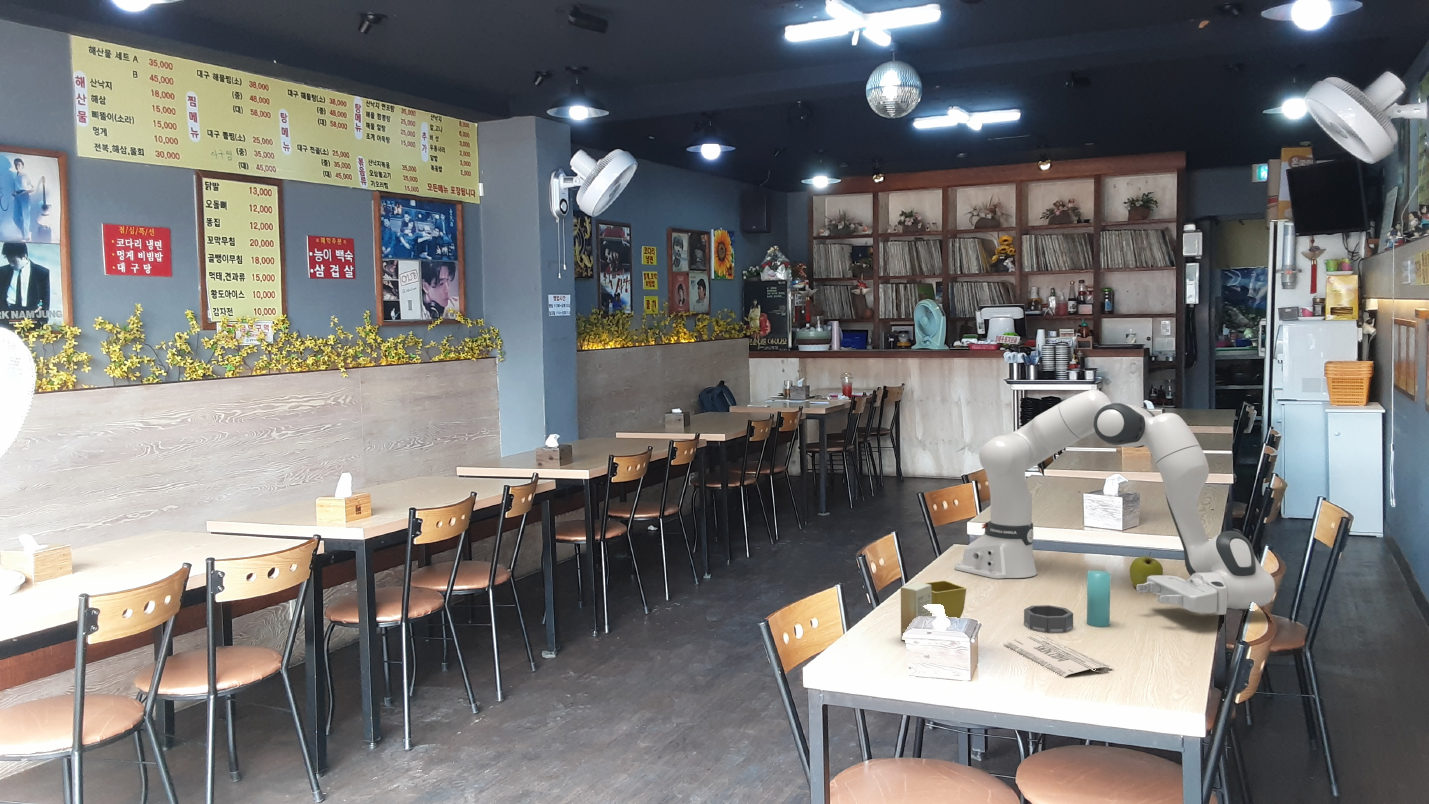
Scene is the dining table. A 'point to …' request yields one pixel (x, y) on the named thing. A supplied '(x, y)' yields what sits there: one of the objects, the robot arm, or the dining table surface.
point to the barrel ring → (1048, 618)
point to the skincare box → (914, 602)
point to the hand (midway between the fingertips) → (1148, 593)
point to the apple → (1144, 569)
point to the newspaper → (1055, 655)
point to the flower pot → (948, 597)
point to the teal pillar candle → (1098, 598)
